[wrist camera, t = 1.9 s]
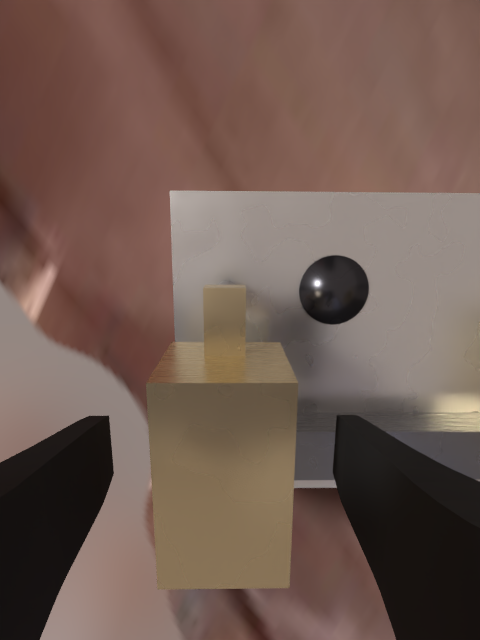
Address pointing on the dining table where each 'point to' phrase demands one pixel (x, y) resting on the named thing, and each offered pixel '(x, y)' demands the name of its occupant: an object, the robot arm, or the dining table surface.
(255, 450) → the leg
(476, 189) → the dining table surface
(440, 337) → the plate
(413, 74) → the dining table surface
